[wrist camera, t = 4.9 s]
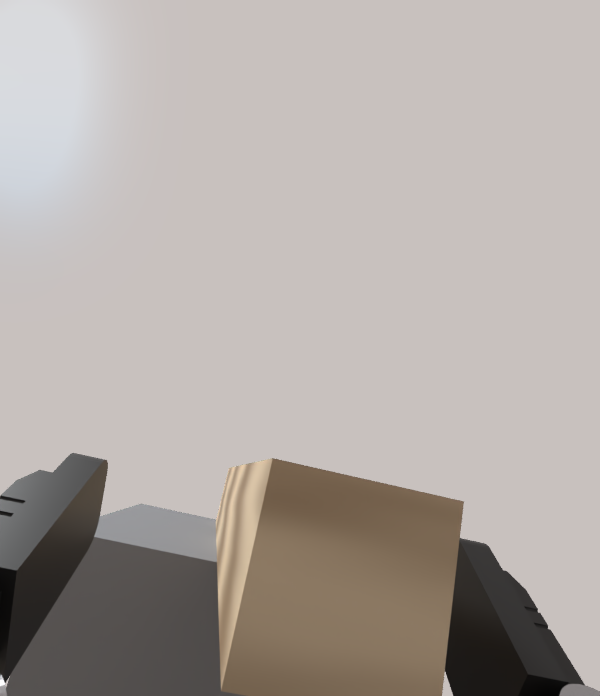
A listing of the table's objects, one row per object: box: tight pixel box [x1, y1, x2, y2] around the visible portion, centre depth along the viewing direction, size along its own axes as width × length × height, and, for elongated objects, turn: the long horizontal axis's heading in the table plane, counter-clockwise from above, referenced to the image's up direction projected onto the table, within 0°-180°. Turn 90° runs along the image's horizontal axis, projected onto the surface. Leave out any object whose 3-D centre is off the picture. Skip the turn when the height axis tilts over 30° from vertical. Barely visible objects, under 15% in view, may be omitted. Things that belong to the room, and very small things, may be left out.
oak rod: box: [216, 458, 464, 696], centre depth 17 cm, size 22×3×3 cm, turn 10°
